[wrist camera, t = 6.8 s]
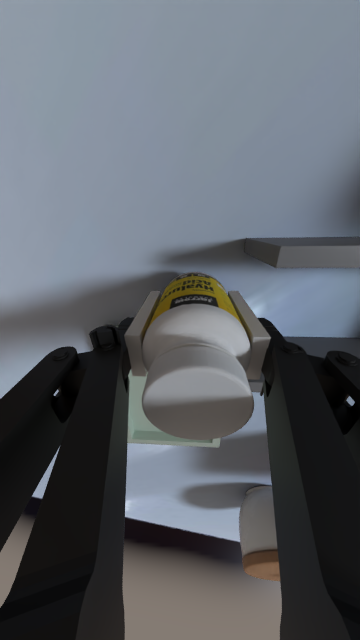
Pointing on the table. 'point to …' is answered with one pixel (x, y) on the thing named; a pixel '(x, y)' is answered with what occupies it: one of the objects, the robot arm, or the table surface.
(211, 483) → the table surface
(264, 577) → the lidded bowl
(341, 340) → the bay
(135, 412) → the tray
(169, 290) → the supplement bottle
